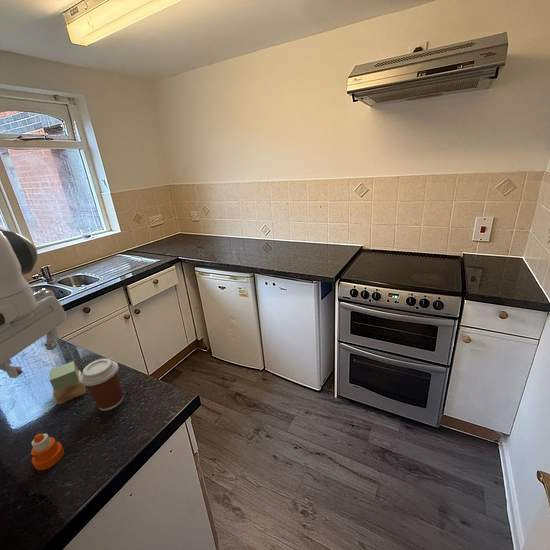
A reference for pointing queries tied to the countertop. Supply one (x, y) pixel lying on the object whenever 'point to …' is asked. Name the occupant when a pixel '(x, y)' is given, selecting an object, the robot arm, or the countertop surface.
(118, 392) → the coffee cup
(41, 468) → the cone
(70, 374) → the top block
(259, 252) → the countertop surface
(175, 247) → the countertop surface
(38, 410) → the countertop surface
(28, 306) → the robot arm
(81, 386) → the base block
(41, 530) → the countertop surface
